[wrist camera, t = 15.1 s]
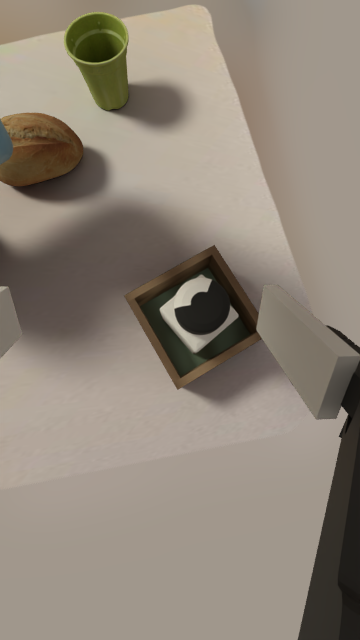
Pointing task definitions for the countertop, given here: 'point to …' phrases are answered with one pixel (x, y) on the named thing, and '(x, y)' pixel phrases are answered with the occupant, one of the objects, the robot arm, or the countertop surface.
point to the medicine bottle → (198, 312)
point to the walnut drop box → (167, 343)
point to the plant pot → (100, 56)
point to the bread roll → (39, 149)
